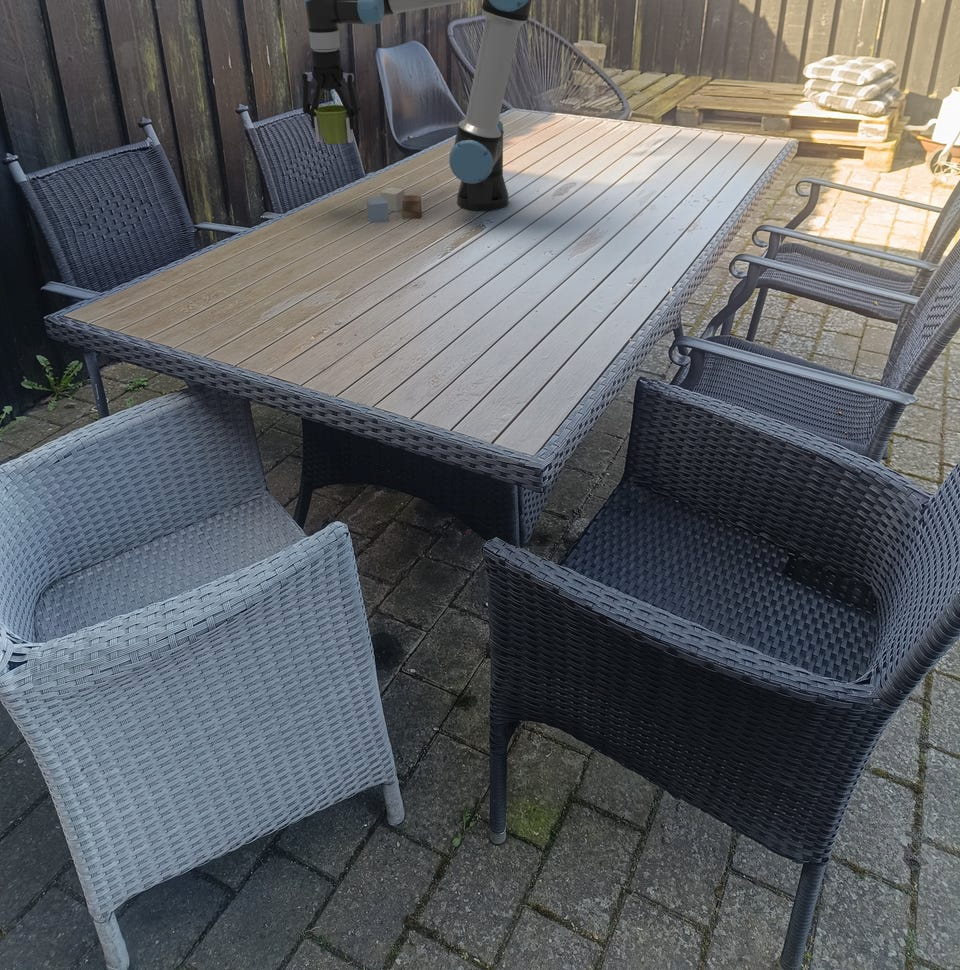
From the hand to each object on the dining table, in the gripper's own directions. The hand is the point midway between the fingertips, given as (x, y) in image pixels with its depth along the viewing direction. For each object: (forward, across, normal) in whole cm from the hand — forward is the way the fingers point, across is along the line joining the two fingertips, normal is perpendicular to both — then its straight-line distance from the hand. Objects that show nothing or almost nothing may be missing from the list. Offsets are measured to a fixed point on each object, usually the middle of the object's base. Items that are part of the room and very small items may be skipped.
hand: (335, 141), depth 231 cm
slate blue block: (+19, -12, +5) cm, 23 cm away
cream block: (+19, -14, -5) cm, 24 cm away
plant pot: (0, 0, 0) cm, 0 cm away
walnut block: (+19, -21, +1) cm, 29 cm away
